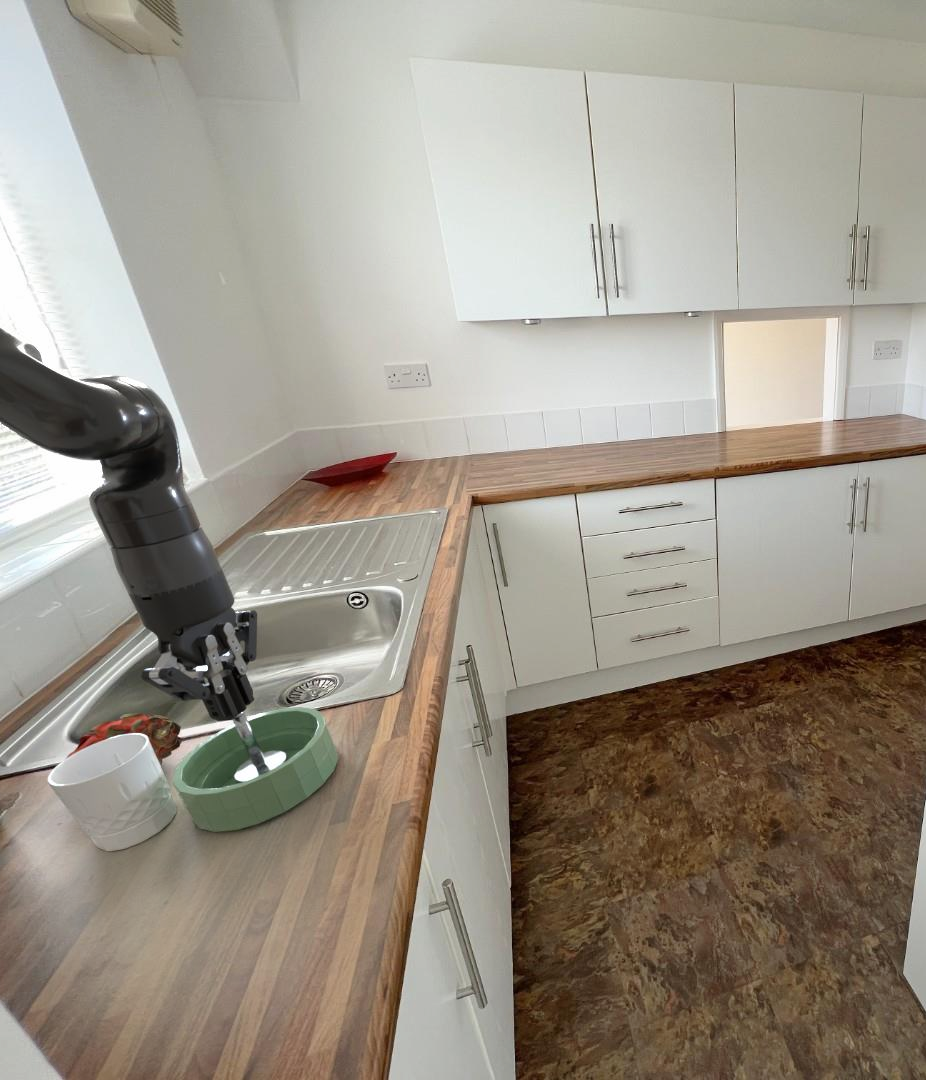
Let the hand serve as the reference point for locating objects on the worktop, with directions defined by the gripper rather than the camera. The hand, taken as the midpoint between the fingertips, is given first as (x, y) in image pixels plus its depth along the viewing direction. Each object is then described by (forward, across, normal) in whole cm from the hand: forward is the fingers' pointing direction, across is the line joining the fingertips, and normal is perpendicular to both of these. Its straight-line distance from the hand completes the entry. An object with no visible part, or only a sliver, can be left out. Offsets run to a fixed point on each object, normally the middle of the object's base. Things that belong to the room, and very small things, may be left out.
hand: (235, 710), depth 67 cm
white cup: (+12, +5, -11) cm, 17 cm away
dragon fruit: (+12, -4, -20) cm, 23 cm away
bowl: (+11, 0, 0) cm, 11 cm away
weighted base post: (+10, 0, 0) cm, 10 cm away
